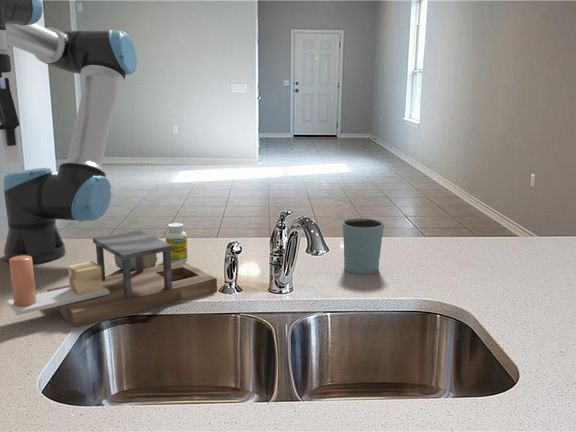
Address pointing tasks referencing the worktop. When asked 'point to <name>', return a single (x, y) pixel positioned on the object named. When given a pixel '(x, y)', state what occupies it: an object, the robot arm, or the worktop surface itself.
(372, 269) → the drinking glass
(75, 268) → the maple block
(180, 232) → the supplement bottle
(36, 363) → the worktop surface
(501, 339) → the worktop surface
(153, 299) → the tunnel deck
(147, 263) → the ceramic mug
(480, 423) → the worktop surface
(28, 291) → the white plank with peg
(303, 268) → the worktop surface
